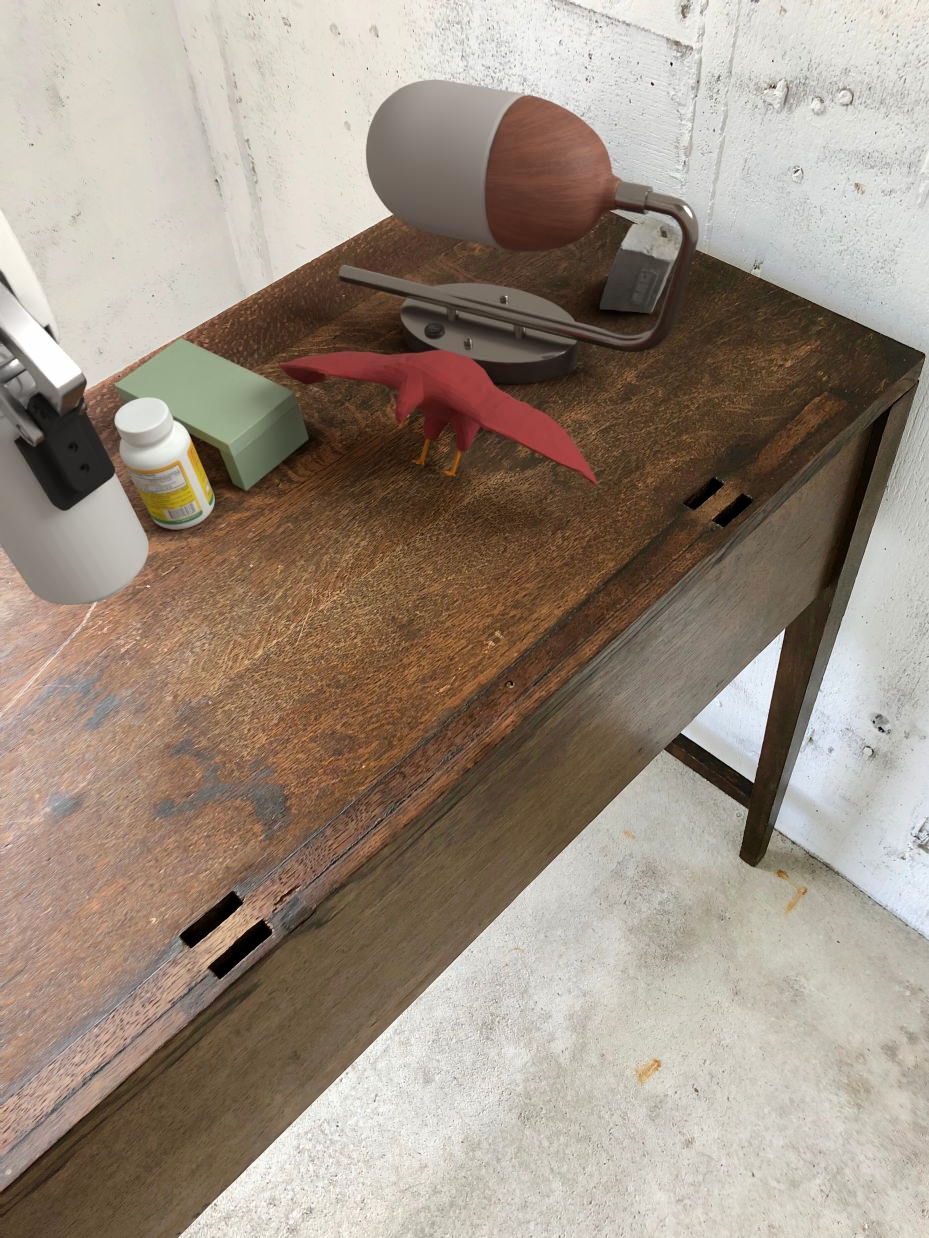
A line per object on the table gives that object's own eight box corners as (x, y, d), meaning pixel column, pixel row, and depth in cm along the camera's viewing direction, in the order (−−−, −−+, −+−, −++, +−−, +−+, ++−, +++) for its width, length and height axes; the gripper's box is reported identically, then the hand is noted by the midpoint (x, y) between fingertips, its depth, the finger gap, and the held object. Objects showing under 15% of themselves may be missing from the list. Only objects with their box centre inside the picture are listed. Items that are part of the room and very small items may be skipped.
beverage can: (108, 511, 53) (5, 317, 44) (178, 560, 51) (85, 365, 41) (9, 578, 51) (-123, 387, 41) (78, 634, 48) (-47, 442, 38)
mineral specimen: (590, 325, 88) (592, 233, 82) (611, 291, 94) (614, 203, 88) (670, 332, 86) (677, 239, 81) (686, 296, 92) (694, 207, 87)
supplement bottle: (189, 539, 76) (144, 447, 68) (138, 520, 78) (88, 427, 70) (230, 495, 79) (191, 401, 71) (179, 477, 80) (136, 384, 73)
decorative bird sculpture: (340, 434, 89) (235, 403, 75) (369, 335, 87) (267, 284, 73) (612, 534, 79) (550, 519, 65) (652, 426, 77) (597, 387, 64)
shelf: (136, 431, 84) (113, 384, 80) (199, 384, 88) (180, 337, 84) (246, 491, 79) (227, 444, 75) (309, 439, 82) (294, 391, 78)
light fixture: (333, 35, 78) (735, 98, 68) (379, 276, 96) (704, 356, 85) (256, 93, 73) (679, 172, 62) (320, 337, 91) (658, 431, 80)
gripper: (-445, 26, 32) (-130, 438, 47) (-183, 155, 26) (90, 589, 40) (-237, -49, 36) (-2, 358, 50) (44, 49, 29) (221, 486, 43)
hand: (37, 458), depth 45 cm, fingers closed on beverage can, 6 cm apart
